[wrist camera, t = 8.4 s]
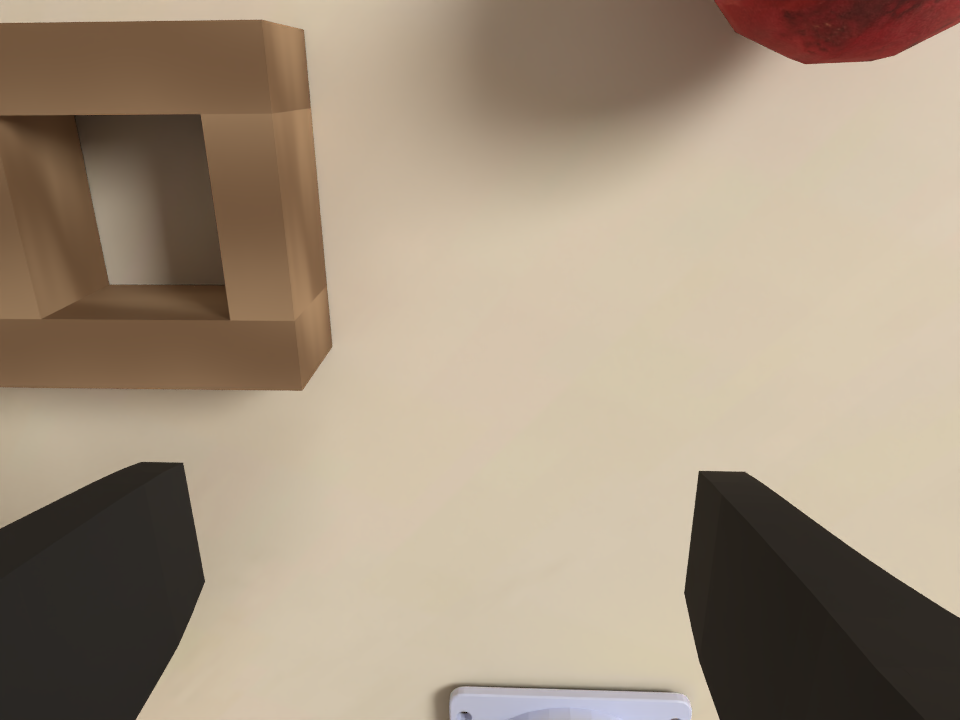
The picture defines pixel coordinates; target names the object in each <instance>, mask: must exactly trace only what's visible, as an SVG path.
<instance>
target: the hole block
mask: <svg viewBox="0 0 960 720" xmlns="http://www.w3.org/2000/svg"><path fill="white" fill-rule="evenodd" d="M145 114H201V120H202V127H203V134H204V141H205V148H206V155H207V162H208V169H209V176H210V183H211V190H212V197H213V204H214V210H215V217H216V224H217V231H218V238H219V245H220V252H221V259H222V266H223V273H224V280H225V285H109V281H108V276H107V272H106V267H105V262H104V257H103V252H102V247H101V243H100V238H99V233H98V228H97V223H96V218H95V213H94V209H93V204H92V199H91V194H90V189H89V184H88V180H87V175H86V170H85V165H84V160H83V155H82V150H81V146H80V141H79V136H78V131H77V126H76V121H75V117H74V115H145ZM331 348H332V338H331V327H330V316H329V305H328V294H327V283H326V272H325V260H324V249H323V238H322V227H321V216H320V205H319V194H318V183H317V172H316V161H315V150H314V139H313V128H312V117H311V105H310V94H309V83H308V72H307V61H306V50H305V39H304V30H303V29H298V28H294V27H290V26H286V25H281V24H277V23H273V22H269V21H264V20H211V21H134V22H57V23H0V387H28V388H117V389H206V390H295V391H302V390H303V389H304V387H305V386H306V384H307V383H308V381H309V380H310V378H311V377H312V376H313V374H314V373H315V371H316V370H317V368H318V367H319V365H320V364H321V362H322V361H323V359H324V358H325V357H326V355H327V354H328V352H329V351H330V349H331Z"/></svg>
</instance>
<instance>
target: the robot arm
mask: <svg viewBox="0 0 960 720" xmlns="http://www.w3.org/2000/svg"><path fill="white" fill-rule="evenodd" d="M204 583H205V579H204V574H203V568H202V563H201V557H200V552H199V547H198V541H197V536H196V530H195V525H194V519H193V514H192V509H191V503H190V498H189V492H188V487H187V482H186V476H185V471H184V465H183V463H166V462H140V463H137V464H135V465H132V466H129V467H127V468H124V469H122V470H119V471H117V472H115V473H113V474H110V475H108V476H106V477H104V478H102V479H100V480H97V481H95V482H93V483H91V484H89V485H87V486H85V487H83V488H81V489H79V490H77V491H75V492H73V493H71V494H69V495H67V496H65V497H63V498H61V499H59V500H57V501H55V502H53V503H51V504H49V505H47V506H45V507H43V508H41V509H39V510H37V511H35V512H33V513H31V514H29V515H27V516H25V517H23V518H21V519H19V520H17V521H15V522H13V523H11V524H9V525H7V526H5V527H3V528H1V529H0V720H136V718H137V716H138V715H139V713H140V711H141V710H142V708H143V706H144V704H145V703H146V701H147V699H148V698H149V696H150V694H151V693H152V691H153V689H154V687H155V686H156V684H157V682H158V680H159V679H160V677H161V675H162V674H163V672H164V670H165V668H166V667H167V665H168V663H169V661H170V660H171V658H172V656H173V654H174V652H175V651H176V649H177V647H178V645H179V643H180V641H181V638H182V636H183V634H184V631H185V629H186V627H187V625H188V622H189V620H190V618H191V615H192V613H193V610H194V608H195V605H196V603H197V600H198V598H199V595H200V593H201V590H202V588H203V585H204ZM684 594H685V599H686V603H687V608H688V613H689V618H690V622H691V627H692V632H693V636H694V640H695V645H696V649H697V653H698V658H699V662H700V665H701V668H702V670H703V673H704V676H705V679H706V682H707V685H708V688H709V691H710V693H711V696H712V699H713V702H714V705H715V707H716V710H717V713H718V716H719V719H720V720H960V618H959V617H957V616H955V615H954V614H952V613H950V612H949V611H947V610H946V609H944V608H942V607H941V606H939V605H938V604H936V603H934V602H933V601H931V600H930V599H928V598H927V597H925V596H923V595H922V594H920V593H919V592H917V591H916V590H914V589H912V588H911V587H909V586H908V585H906V584H905V583H903V582H901V581H900V580H898V579H897V578H895V577H894V576H892V575H891V574H889V573H888V572H886V571H885V570H883V569H882V568H880V567H879V566H877V565H876V564H874V563H873V562H871V561H870V560H868V559H867V558H866V557H864V556H863V555H861V554H860V553H858V552H857V551H855V550H854V549H853V548H851V547H850V546H848V545H847V544H846V543H844V542H843V541H841V540H840V539H838V538H837V537H836V536H834V535H833V534H831V533H830V532H829V531H827V530H826V529H825V528H823V527H822V526H820V525H819V524H818V523H816V522H815V521H814V520H812V519H811V518H809V517H808V516H807V515H805V514H804V513H803V512H801V511H800V510H799V509H797V508H796V507H794V506H793V505H792V504H790V503H789V502H788V501H786V500H785V499H784V498H782V497H781V496H779V495H778V494H777V493H775V492H774V491H773V490H771V489H770V488H768V487H767V486H765V485H764V484H763V483H761V482H760V481H758V480H757V479H755V478H754V477H752V476H750V475H749V474H747V473H746V472H725V471H699V475H698V483H697V492H696V500H695V508H694V517H693V525H692V533H691V542H690V550H689V558H688V567H687V575H686V583H685V592H684ZM463 711H465V712H468V713H461V712H463ZM691 716H692V708H691V704H690V701H689V699H688V698H687V696H685V695H683V694H680V693H669V692H636V691H602V690H569V689H536V688H503V687H470V686H463V687H458V688H456V689H454V690H453V691H452V692H451V695H450V701H449V717H450V720H671V719H674V718H678V719H676V720H691Z"/></svg>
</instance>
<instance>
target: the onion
mask: <svg viewBox="0 0 960 720" xmlns="http://www.w3.org/2000/svg"><path fill="white" fill-rule="evenodd" d="M714 1H715V2H716V4H717V5H718V7H719V8H720V10H721V11H722V13H723V14H724V16H725V17H726V19H727V20H728V22H729V23H730V25H731V26H732V28H733V29H734V31H735V32H736V33H738V34H740V35H742V36H744V37H747V38H749V39H751V40H753V41H755V42H757V43H759V44H761V45H763V46H765V47H767V48H769V49H771V50H773V51H775V52H777V53H779V54H781V55H783V56H785V57H788V58H790V59H793V60H795V61H798V62H801V63H803V64H818V63H841V62H864V61H873V60H878V59H882V58H886V57H890V56H894V55H896V54H898V53H900V52H902V51H904V50H906V49H908V48H910V47H912V46H914V45H916V44H918V43H920V42H922V41H924V40H926V39H928V38H930V37H932V36H934V35H936V34H938V33H940V32H942V31H944V30H946V29H948V28H950V27H952V26H954V25H956V24H958V23H960V0H714Z"/></svg>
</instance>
